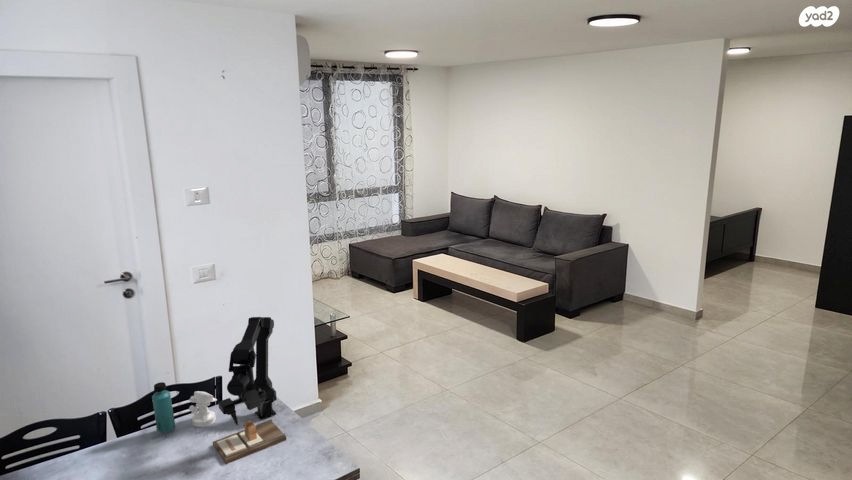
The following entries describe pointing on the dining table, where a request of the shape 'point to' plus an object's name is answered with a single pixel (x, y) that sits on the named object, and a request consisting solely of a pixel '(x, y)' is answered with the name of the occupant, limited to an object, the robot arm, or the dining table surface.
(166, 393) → the beverage bottle
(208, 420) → the character figurine
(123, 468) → the dining table surface
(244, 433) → the stub
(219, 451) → the ticket board
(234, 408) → the robot arm
